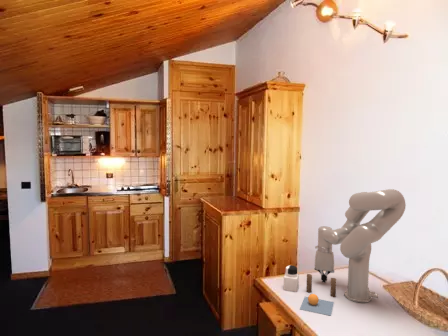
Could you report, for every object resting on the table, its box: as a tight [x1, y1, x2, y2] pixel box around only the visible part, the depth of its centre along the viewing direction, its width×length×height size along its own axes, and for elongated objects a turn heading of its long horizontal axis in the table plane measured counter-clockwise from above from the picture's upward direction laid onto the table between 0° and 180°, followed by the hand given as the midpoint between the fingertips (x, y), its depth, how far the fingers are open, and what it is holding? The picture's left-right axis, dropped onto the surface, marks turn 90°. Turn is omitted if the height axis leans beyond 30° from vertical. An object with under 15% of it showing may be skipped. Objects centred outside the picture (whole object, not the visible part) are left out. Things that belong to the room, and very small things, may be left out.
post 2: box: [329, 277, 337, 298], centre depth 164 cm, size 3×3×9 cm
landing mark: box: [299, 296, 335, 317], centre depth 154 cm, size 14×14×1 cm
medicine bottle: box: [283, 265, 300, 293], centre depth 173 cm, size 7×7×12 cm
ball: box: [307, 293, 320, 305], centre depth 155 cm, size 5×5×5 cm
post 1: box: [306, 273, 313, 294], centre depth 169 cm, size 3×3×9 cm
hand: (324, 281), depth 179 cm, fingers closed
